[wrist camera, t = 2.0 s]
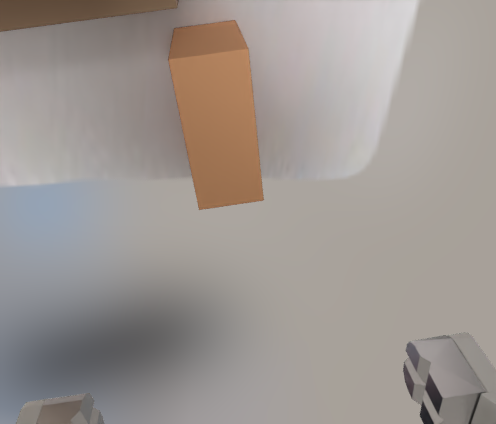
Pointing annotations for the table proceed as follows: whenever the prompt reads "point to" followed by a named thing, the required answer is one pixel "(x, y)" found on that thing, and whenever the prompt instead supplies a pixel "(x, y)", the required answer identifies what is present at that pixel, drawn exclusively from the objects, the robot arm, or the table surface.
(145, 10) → the small wooden table
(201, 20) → the table surface
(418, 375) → the robot arm
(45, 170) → the table surface
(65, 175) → the table surface
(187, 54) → the tan cardboard brick
